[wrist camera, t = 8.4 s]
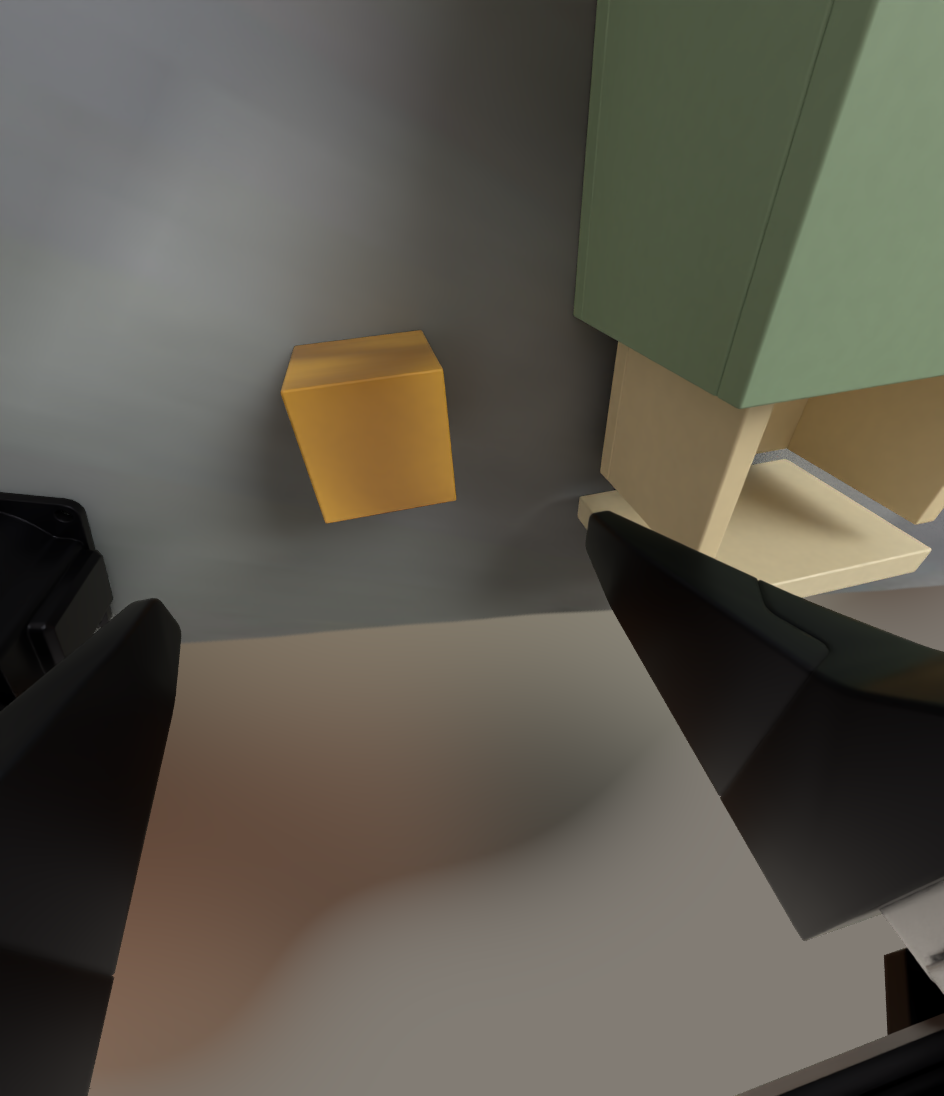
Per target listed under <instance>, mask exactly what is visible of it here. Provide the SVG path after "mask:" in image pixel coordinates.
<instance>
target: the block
mask: <svg viewBox="0 0 944 1096" xmlns="http://www.w3.org/2000/svg"><path fill="white" fill-rule="evenodd" d="M281 396H282V399H283V402H284V405H285V408H286V411H287V414H288V417H289V419H290V422H291V425H292V428H293V431H294V434H295V437H296V440H297V443H298V446H299V448H300V451H301V454H302V457H303V460H304V463H305V466H306V469H307V472H308V475H309V477H310V480H311V483H312V486H313V489H314V492H315V495H316V498H317V501H318V504H319V506H320V509H321V512H322V515H323V518H324V521H325V523H333V522H338V521H344V520H349V519H355V518H361V517H366V516H372V515H377V514H383V513H389V512H394V511H400V510H405V509H411V508H417V507H422V506H428V505H433V504H439V503H445V502H450V501H455V500H456V489H455V479H454V470H453V460H452V450H451V440H450V430H449V421H448V411H447V401H446V391H445V381H444V372H443V369H442V367H441V365H440V363H439V362H438V360H437V358H436V356H435V354H434V352H433V350H432V349H431V347H430V345H429V343H428V341H427V339H426V337H425V336H424V334H423V332H422V331H421V330H417V331H409V332H401V333H393V334H385V335H378V336H370V337H362V338H354V339H346V340H338V341H330V342H322V343H314V344H307V345H299V346H295V347H294V349H293V352H292V355H291V359H290V362H289V365H288V369H287V372H286V375H285V378H284V382H283V385H282V388H281Z"/></svg>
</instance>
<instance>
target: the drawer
mask: <svg viewBox="0 0 944 1096" xmlns="http://www.w3.org/2000/svg"><path fill="white" fill-rule="evenodd" d="M785 448H788V449H789V450H790V451H792V452H794V453H795V454H797V455H799V456H800V457H802V458H804V459H806V460H807V461H809V462H811V463H812V464H814V465H816V466H817V467H819V468H821V469H822V470H824V471H826V472H827V473H829V474H831V475H832V476H834V477H836V478H837V479H839V480H841V481H843V482H844V483H846V484H848V485H849V486H851V487H853V488H854V489H856V490H858V491H859V492H861V493H863V494H864V495H866V496H868V497H869V498H871V499H873V500H874V501H876V502H878V503H880V504H881V505H883V506H885V507H886V508H888V509H890V510H891V511H893V512H895V513H896V514H898V515H900V516H901V517H903V518H905V519H906V520H908V521H910V522H912V523H913V524H916V525H917V524H921V523H926V522H930V521H934V520H935V518H936V517H937V516H938V514H939V513H940V512H941V510H942V509H943V508H944V375H943V376H937V377H931V378H925V379H919V380H913V381H907V382H901V383H895V384H889V385H883V386H877V387H871V388H865V389H859V390H853V391H847V392H841V393H835V394H829V395H823V396H817V397H810V398H804V399H798V400H792V401H786V402H780V403H774V404H768V405H762V406H756V407H750V408H744V409H737V408H735V407H734V406H732V405H730V404H728V403H726V402H725V401H723V400H721V399H719V398H718V397H717V396H714V395H712V394H710V393H708V392H706V391H705V390H703V389H701V388H699V387H698V386H696V385H694V384H692V383H691V382H689V381H687V380H685V379H684V378H682V377H680V376H678V375H677V374H675V373H673V372H671V371H670V370H668V369H666V368H664V367H663V366H661V365H659V364H657V363H656V362H654V361H652V360H650V359H648V358H647V357H645V356H643V355H641V354H640V353H638V352H636V351H634V350H633V349H631V348H629V347H627V346H626V345H624V344H622V343H620V342H619V341H618V347H617V354H616V361H615V368H614V375H613V382H612V389H611V396H610V404H609V411H608V418H607V425H606V432H605V439H604V446H603V453H602V461H601V468H600V473H601V474H602V475H603V476H604V477H605V478H606V479H607V480H609V482H610V483H611V485H612V486H613V487H614V488H615V489H616V490H613V491H608V492H603V493H597V494H592V495H586V496H581V497H580V498H579V507H578V518H579V520H580V521H581V522H582V524H583V525H584V527H585V528H586V529H587V527H588V520H589V517H590V515H591V514H592V513H595V512H601V511H606V510H608V511H612V512H614V513H616V514H618V515H620V516H622V517H625V518H627V519H629V520H631V521H633V522H636V523H638V524H640V525H642V526H644V527H647V528H649V529H651V530H653V531H655V532H657V533H660V534H662V535H664V536H666V537H668V538H671V539H673V540H675V541H677V542H679V543H681V544H684V545H686V546H688V547H690V548H692V549H695V550H697V551H699V552H701V553H703V554H705V555H708V556H710V557H712V558H714V559H716V560H719V561H721V562H723V563H725V564H727V565H730V566H732V567H734V568H736V569H738V570H740V571H743V572H745V573H747V574H749V575H751V576H754V577H756V578H757V580H763V581H765V582H767V583H769V584H771V585H773V586H776V587H778V588H780V589H782V590H784V591H787V592H789V593H791V594H794V595H796V596H798V597H800V598H803V597H807V596H812V595H816V594H820V593H825V592H829V591H833V590H838V589H842V588H846V587H851V586H855V585H859V584H864V583H868V582H872V581H877V580H881V579H885V578H890V577H894V576H898V575H903V574H907V573H911V572H914V571H915V570H916V569H917V568H918V567H919V565H920V564H921V563H922V562H923V560H924V559H925V558H926V557H927V555H928V554H929V553H930V552H931V548H929V547H928V546H926V545H924V544H923V543H921V542H920V541H918V540H916V539H915V538H913V537H911V536H910V535H908V534H907V533H905V532H903V531H902V530H900V529H899V528H897V527H895V526H894V525H892V524H890V523H889V522H887V521H886V520H884V519H882V518H881V517H879V516H878V515H876V514H874V513H873V512H871V511H869V510H868V509H866V508H865V507H863V506H861V505H860V504H858V503H857V502H855V501H853V500H852V499H850V498H848V497H847V496H845V495H844V494H842V493H840V492H839V491H837V490H836V489H834V488H832V487H831V486H829V485H827V484H826V483H824V482H823V481H821V480H819V479H818V478H816V477H814V476H813V475H811V474H810V473H808V472H806V471H805V470H803V469H802V468H800V467H798V466H797V465H795V464H793V463H792V462H790V461H789V460H787V459H782V460H776V461H771V462H765V463H760V464H755V465H751V464H752V461H753V459H754V456H755V454H757V453H763V452H768V451H774V450H780V449H785Z"/></svg>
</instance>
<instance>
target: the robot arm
mask: <svg viewBox="0 0 944 1096" xmlns="http://www.w3.org/2000/svg"><path fill="white" fill-rule="evenodd" d="M61 510H64V511H67V512H69V513H70V514H71V515H72V516H70V515H66V514H64V513H63V512H62V511H61ZM586 550H587V553H588V555H589V558H590V560H591V562H592V565H593V567H594V569H595V572H596V574H597V576H598V579H599V581H600V583H601V586H602V588H603V591H604V593H605V595H606V598H607V600H608V602H609V604H610V606H611V608H612V610H613V612H614V614H615V615H616V617H617V619H618V621H619V623H620V624H621V626H622V628H623V630H624V631H625V633H626V635H627V637H628V638H629V640H630V642H631V643H632V645H633V647H634V649H635V650H636V652H637V654H638V656H639V657H640V659H641V661H642V663H643V664H644V666H645V668H646V670H647V671H648V673H649V675H650V677H651V678H652V680H653V682H654V683H655V685H656V687H657V689H658V690H659V692H660V694H661V696H662V697H663V699H664V701H665V703H666V704H667V706H668V708H669V710H670V711H671V713H672V715H673V716H674V718H675V720H676V722H677V724H678V725H679V727H680V729H681V731H682V732H683V734H684V736H685V737H686V739H687V741H688V743H689V744H690V746H691V748H692V749H693V751H694V753H695V755H696V756H697V758H698V760H699V762H700V764H701V765H702V767H703V769H704V771H705V772H706V774H707V776H708V777H709V779H710V781H711V783H712V784H713V786H714V788H715V789H716V791H717V793H718V795H719V796H721V797H720V798H721V801H722V802H723V804H724V806H725V807H726V809H727V811H728V813H729V814H730V816H731V818H732V819H733V821H734V823H735V825H736V827H737V828H738V830H739V832H740V833H741V835H742V837H743V839H744V841H745V842H746V844H747V846H748V848H749V849H750V851H751V853H752V854H753V856H754V858H755V860H756V861H757V863H758V865H759V867H760V868H761V870H762V872H763V874H764V875H765V877H766V879H767V881H768V882H769V884H770V886H771V887H772V889H773V891H774V893H775V895H776V896H777V898H778V900H779V902H780V903H781V905H782V907H783V908H784V910H785V912H786V914H787V915H788V917H789V919H790V921H791V922H792V924H793V926H794V927H795V929H796V930H797V932H798V934H799V935H800V937H801V938H802V940H803V941H807V940H810V939H813V938H815V937H818V936H821V935H824V934H827V933H830V932H833V931H835V930H838V929H841V928H844V927H847V926H849V925H852V924H855V923H858V922H861V921H864V920H866V919H869V918H872V917H875V916H878V915H881V914H883V915H884V917H885V918H886V920H887V921H888V922H889V924H890V925H891V926H892V928H893V929H894V930H895V932H896V933H897V934H898V936H899V937H900V939H901V940H902V941H903V943H904V944H905V945H906V947H905V948H903V949H900V950H897V951H895V952H892V953H889V954H886V955H884V967H885V987H886V988H885V989H886V1011H887V1033H888V1035H887V1036H885V1037H882V1038H880V1039H877V1040H875V1041H872V1042H870V1043H867V1044H864V1045H862V1046H860V1047H857V1048H855V1049H852V1050H849V1051H847V1052H844V1053H842V1054H839V1055H837V1056H834V1057H832V1058H829V1059H827V1060H824V1061H822V1062H819V1063H817V1064H814V1065H811V1066H809V1067H806V1068H804V1069H801V1070H799V1071H796V1072H794V1073H791V1074H789V1075H786V1076H783V1077H781V1078H778V1079H776V1080H773V1081H771V1082H768V1083H766V1084H763V1085H761V1086H758V1087H756V1088H753V1089H751V1090H748V1091H746V1092H743V1093H741V1094H738V1095H735V1096H944V652H942V651H939V650H935V649H932V648H929V647H926V646H923V645H920V644H917V643H915V642H912V641H910V640H907V639H904V638H902V637H899V636H897V635H894V634H892V633H889V632H886V631H884V630H881V629H878V628H876V627H873V626H871V625H868V624H866V623H863V622H860V621H858V620H855V619H853V618H850V617H847V616H845V615H842V614H840V613H837V612H835V611H832V610H830V609H827V608H825V607H822V606H820V605H817V604H815V603H812V602H810V601H807V600H805V599H803V598H800V597H798V596H796V595H794V594H791V593H789V592H787V591H784V590H782V589H780V588H778V587H776V586H773V585H771V584H769V583H767V582H765V581H763V580H757V578H756V577H754V576H751V575H749V574H747V573H745V572H743V571H740V570H738V569H736V568H734V567H732V566H730V565H727V564H725V563H723V562H721V561H719V560H716V559H714V558H712V557H710V556H708V555H705V554H703V553H701V552H699V551H697V550H695V549H692V548H690V547H688V546H686V545H684V544H681V543H679V542H677V541H675V540H673V539H671V538H668V537H666V536H664V535H662V534H660V533H657V532H655V531H653V530H651V529H649V528H647V527H644V526H642V525H640V524H638V523H636V522H633V521H631V520H629V519H627V518H625V517H622V516H620V515H618V514H616V513H614V512H612V511H608V510H606V511H601V512H595V513H592V514H591V515H590V517H589V520H588V527H587V535H586ZM112 600H113V596H112V592H111V588H110V584H109V580H108V576H107V572H106V568H105V564H104V560H103V556H102V555H101V554H100V553H99V552H98V551H97V550H95V547H94V543H93V539H92V535H91V531H90V527H89V523H88V520H87V516H86V512H85V510H84V508H83V507H82V506H81V505H80V504H79V503H77V502H75V501H73V500H70V499H64V498H54V497H44V496H34V495H23V494H13V493H3V492H0V1096H88V1092H89V1087H90V1082H91V1078H92V1073H93V1069H94V1065H95V1060H96V1056H97V1051H98V1047H99V1042H100V1038H101V1033H102V1029H103V1025H104V1020H105V1015H106V1011H107V1007H108V1002H109V998H110V993H111V989H112V984H113V980H114V977H113V976H112V975H113V974H114V973H115V969H116V965H117V960H118V955H119V951H120V947H121V942H122V938H123V933H124V929H125V924H126V920H127V915H128V911H129V906H130V902H131V897H132V893H133V889H134V884H135V880H136V875H137V870H138V866H139V861H140V857H141V853H142V848H143V844H144V839H145V835H146V831H147V826H148V822H149V817H150V813H151V808H152V804H153V799H154V795H155V790H156V786H157V781H158V776H159V772H160V767H161V763H162V759H163V755H164V750H165V746H166V741H167V737H168V732H169V728H170V723H171V718H172V714H173V709H174V703H175V696H176V686H177V676H178V665H179V654H180V644H181V630H180V627H179V625H178V623H177V622H176V620H175V619H174V618H173V616H172V615H171V614H170V612H169V611H168V610H167V608H166V607H165V606H164V604H163V603H162V602H161V601H160V600H158V599H156V598H151V599H146V600H140V601H136V602H133V603H131V604H129V605H128V606H127V607H126V608H125V609H123V610H122V611H121V612H120V613H119V614H117V615H116V616H115V617H114V618H113V619H111V620H110V618H111V617H112V612H111V609H110V603H111V602H112ZM109 620H110V621H109ZM99 627H102V628H100V629H99V630H98V631H97V632H96V633H94V632H95V630H96V629H97V628H99Z"/></svg>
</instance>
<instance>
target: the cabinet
mask: <svg viewBox="0 0 944 1096" xmlns="http://www.w3.org/2000/svg"><path fill="white" fill-rule="evenodd" d="M573 315H574V316H575V317H576V318H578V319H580V320H582V321H583V322H585V323H587V324H589V325H590V326H592V327H594V328H596V329H598V330H599V331H601V332H603V333H605V334H606V335H608V336H610V337H612V338H613V339H615V340H617V341H619V342H620V343H622V344H624V345H626V346H627V347H629V348H631V349H633V350H634V351H636V352H638V353H640V354H641V355H643V356H645V357H647V358H648V359H650V360H652V361H654V362H656V363H657V364H659V365H661V366H663V367H664V368H666V369H668V370H670V371H671V372H673V373H675V374H677V375H678V376H680V377H682V378H684V379H685V380H687V381H689V382H691V383H692V384H694V385H696V386H698V387H699V388H701V389H703V390H705V391H706V392H708V393H710V394H712V395H714V396H717V397H718V398H719V399H721V400H723V401H725V402H726V403H728V404H730V405H732V406H734V407H735V408H737V409H744V408H750V407H756V406H762V405H768V404H774V403H780V402H786V401H792V400H798V399H804V398H810V397H817V396H823V395H829V394H835V393H841V392H847V391H853V390H859V389H865V388H871V387H877V386H883V385H889V384H895V383H901V382H907V381H913V380H919V379H925V378H931V377H937V376H943V375H944V0H597V11H596V24H595V37H594V50H593V63H592V76H591V90H590V103H589V116H588V129H587V142H586V155H585V168H584V181H583V194H582V207H581V221H580V234H579V247H578V260H577V273H576V286H575V299H574V312H573Z"/></svg>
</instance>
